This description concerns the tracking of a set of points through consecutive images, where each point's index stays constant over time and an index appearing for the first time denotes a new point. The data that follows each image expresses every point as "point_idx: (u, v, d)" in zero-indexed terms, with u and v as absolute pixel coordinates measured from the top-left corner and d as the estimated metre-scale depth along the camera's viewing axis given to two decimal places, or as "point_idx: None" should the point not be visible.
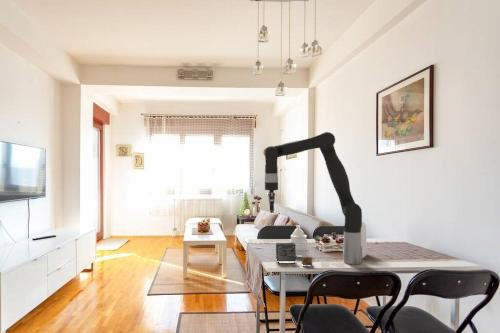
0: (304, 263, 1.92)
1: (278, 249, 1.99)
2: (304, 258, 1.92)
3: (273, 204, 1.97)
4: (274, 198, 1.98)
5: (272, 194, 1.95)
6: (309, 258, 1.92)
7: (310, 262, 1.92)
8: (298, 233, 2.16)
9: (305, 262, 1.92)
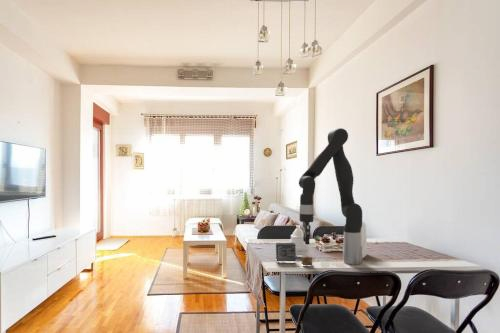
0: (304, 263, 1.92)
1: (278, 249, 1.99)
2: (304, 258, 1.92)
3: None
4: None
5: (308, 227, 1.88)
6: (309, 258, 1.92)
7: (310, 262, 1.92)
8: (298, 233, 2.16)
9: (305, 262, 1.92)
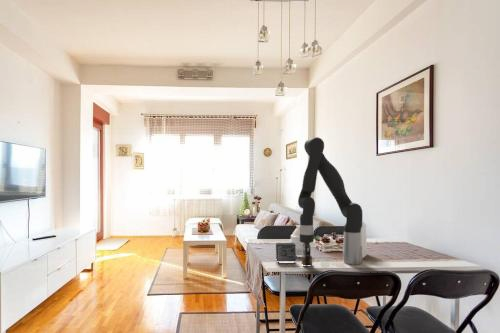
0: (304, 263, 1.92)
1: (278, 249, 1.99)
2: (304, 258, 1.92)
3: None
4: (310, 252, 1.91)
5: (308, 250, 1.88)
6: None
7: (310, 262, 1.92)
8: (298, 233, 2.16)
9: None
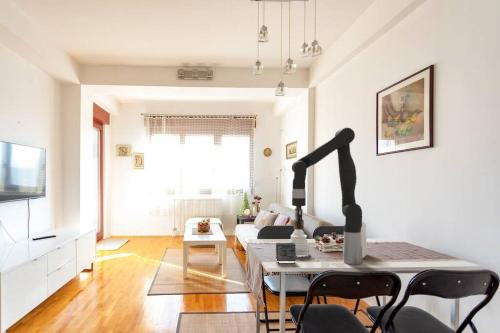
0: (296, 226, 1.94)
1: (278, 249, 1.99)
2: (296, 221, 1.95)
3: (300, 222, 1.94)
4: None
5: (300, 212, 1.90)
6: None
7: (302, 225, 1.94)
8: (298, 233, 2.16)
9: None
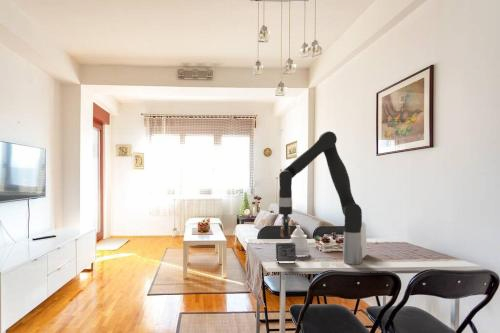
0: (282, 234, 1.99)
1: (278, 249, 1.99)
2: (282, 229, 2.00)
3: (287, 229, 1.99)
4: (288, 223, 1.99)
5: (286, 221, 1.95)
6: None
7: (288, 233, 1.99)
8: (298, 233, 2.16)
9: (283, 233, 1.99)
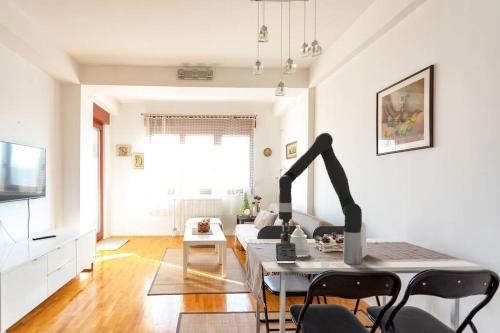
0: (283, 241, 1.99)
1: (278, 249, 1.99)
2: (283, 236, 2.00)
3: (287, 234, 1.98)
4: (288, 228, 1.98)
5: (286, 224, 1.95)
6: None
7: (288, 240, 1.99)
8: (298, 233, 2.16)
9: (283, 240, 1.99)
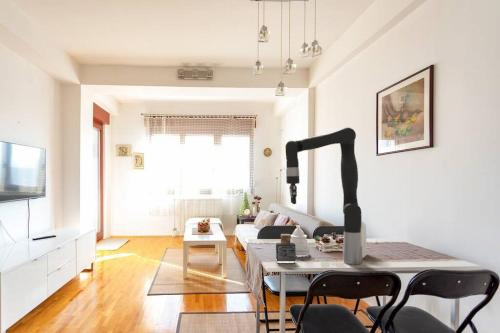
0: (283, 241, 1.99)
1: (278, 249, 1.99)
2: (283, 236, 1.99)
3: (295, 197, 2.03)
4: (296, 191, 2.04)
5: (294, 187, 2.00)
6: (287, 236, 1.99)
7: (288, 240, 1.99)
8: (298, 233, 2.16)
9: (283, 240, 1.99)
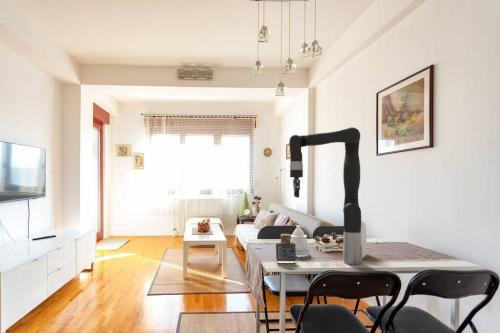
0: (283, 241, 1.99)
1: (278, 249, 1.99)
2: (283, 236, 1.99)
3: (298, 190, 2.05)
4: (299, 185, 2.06)
5: (298, 181, 2.02)
6: (287, 236, 1.99)
7: (288, 240, 1.99)
8: (298, 233, 2.16)
9: (283, 240, 1.99)
